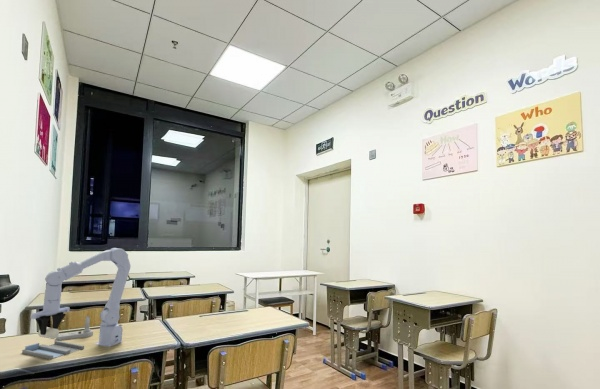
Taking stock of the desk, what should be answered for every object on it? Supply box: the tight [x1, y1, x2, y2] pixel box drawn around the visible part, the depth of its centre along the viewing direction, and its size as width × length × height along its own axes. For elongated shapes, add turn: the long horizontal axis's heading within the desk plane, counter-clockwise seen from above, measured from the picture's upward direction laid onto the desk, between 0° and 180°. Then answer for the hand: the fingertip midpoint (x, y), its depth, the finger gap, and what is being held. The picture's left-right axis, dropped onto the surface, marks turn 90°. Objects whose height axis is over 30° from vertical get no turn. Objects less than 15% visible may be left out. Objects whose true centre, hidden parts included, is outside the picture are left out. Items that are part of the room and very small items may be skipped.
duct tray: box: [21, 340, 85, 360], centre depth 142 cm, size 18×14×3 cm
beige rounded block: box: [37, 326, 60, 340], centre depth 140 cm, size 7×4×4 cm, turn 69°
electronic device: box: [55, 316, 94, 341], centre depth 162 cm, size 5×10×15 cm
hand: (48, 332), depth 140 cm, fingers closed on beige rounded block, 4 cm apart
